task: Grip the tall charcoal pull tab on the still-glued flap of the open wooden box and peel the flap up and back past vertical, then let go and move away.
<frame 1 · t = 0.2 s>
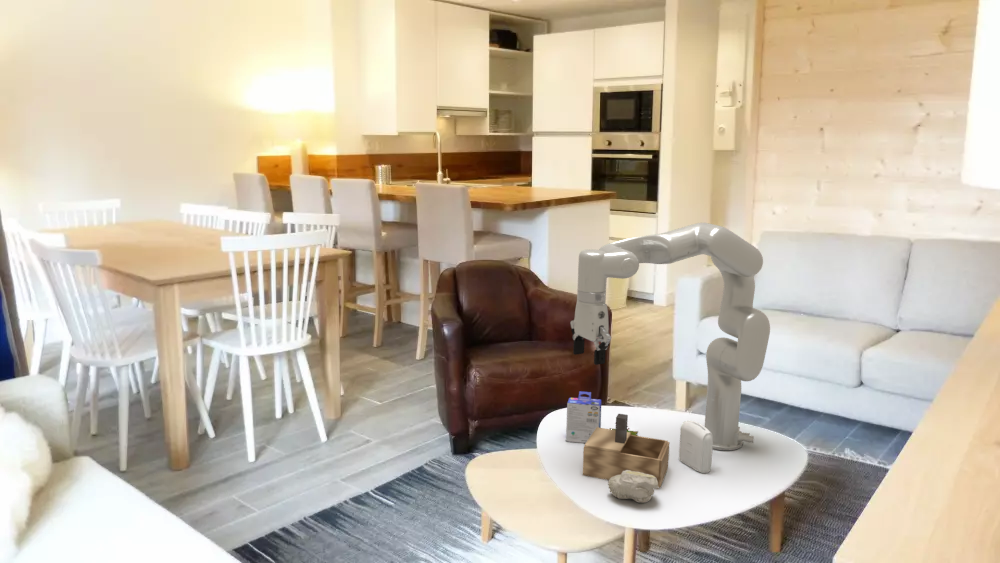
hand: (588, 358, 202), 30 cm above the table, tool pointing down, fingers open, 9 cm apart
lily flower: (621, 438, 227), on the table
flap: (608, 427, 203), point 12 cm above the table, hinge at 0.0°
open wooden box: (624, 471, 204), on the table
fossil replica: (632, 499, 189), on the table
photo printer: (694, 466, 208), on the table
ink cartridge box: (583, 440, 224), on the table
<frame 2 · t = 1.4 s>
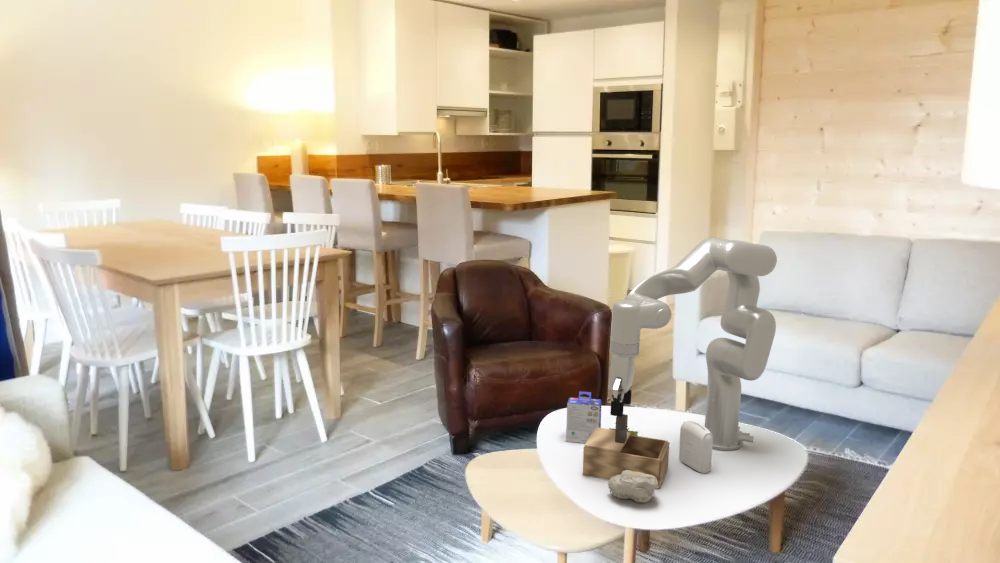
hand: (620, 409, 200), 18 cm above the table, tool pointing down, fingers open, 9 cm apart
nothing on the table moved.
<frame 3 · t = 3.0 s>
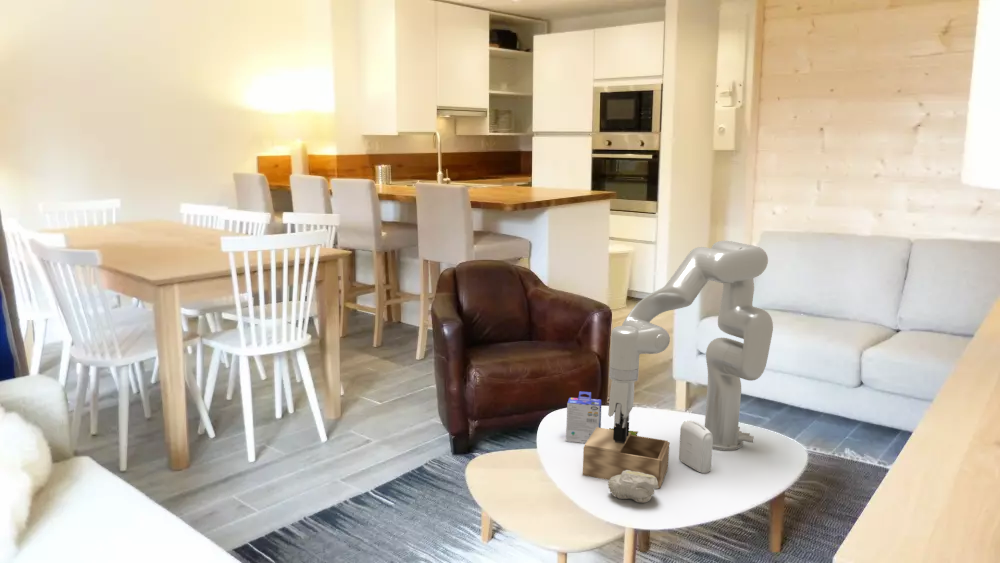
hand: (620, 437, 202), 10 cm above the table, tool pointing down, fingers closed on flap, 3 cm apart
flap: (608, 427, 203), point 12 cm above the table, hinge at 0.0°, touching gripper
everything else where it was.
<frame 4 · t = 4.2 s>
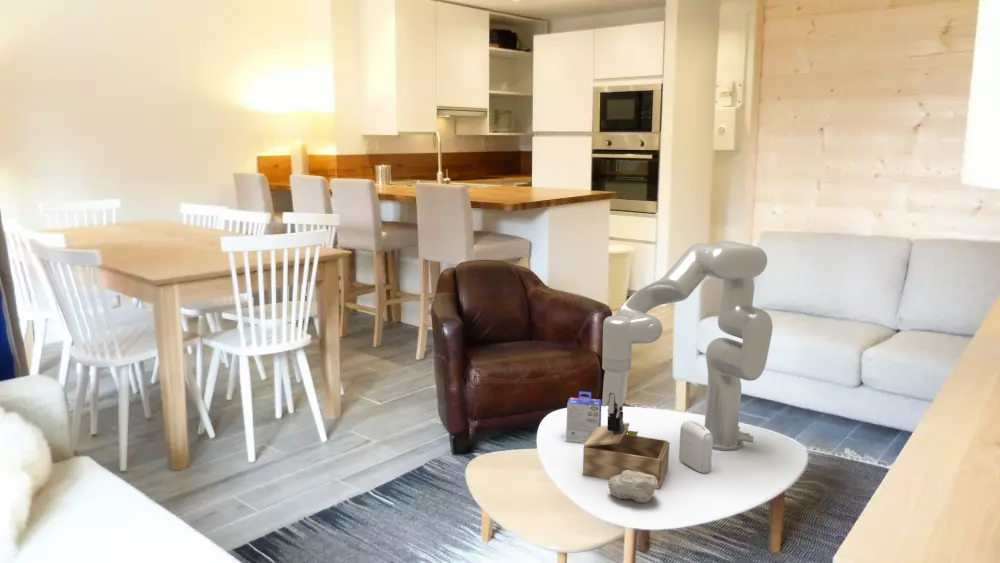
hand: (615, 427, 202), 12 cm above the table, tool pointing down, fingers closed on flap, 3 cm apart
flap: (604, 422, 203), point 13 cm above the table, hinge at 16.3°, touching gripper
everything else where it was.
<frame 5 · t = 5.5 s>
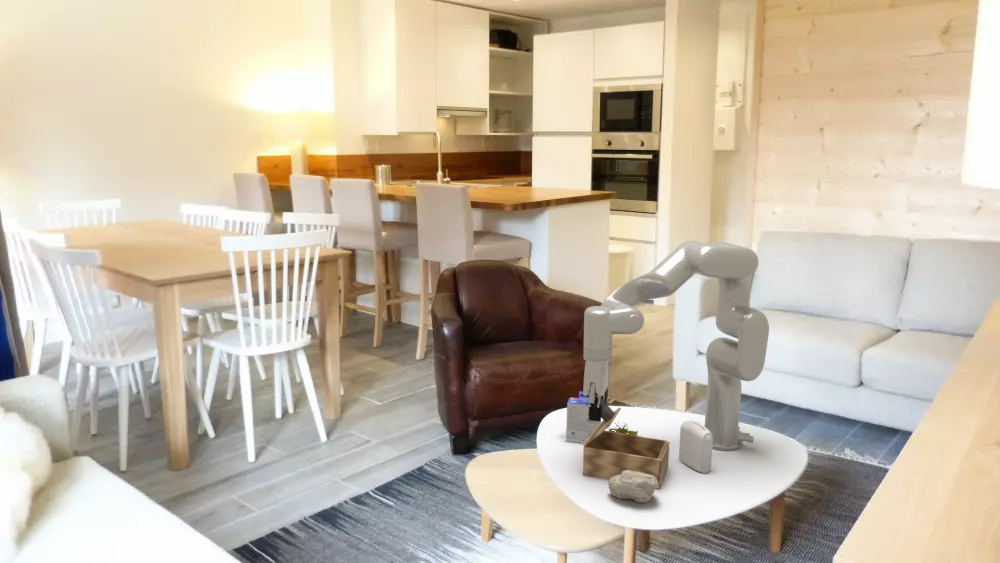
hand: (596, 417, 204), 14 cm above the table, tool pointing down, fingers closed on flap, 3 cm apart
flap: (593, 416, 204), point 14 cm above the table, hinge at 46.0°, touching gripper
everything else where it was.
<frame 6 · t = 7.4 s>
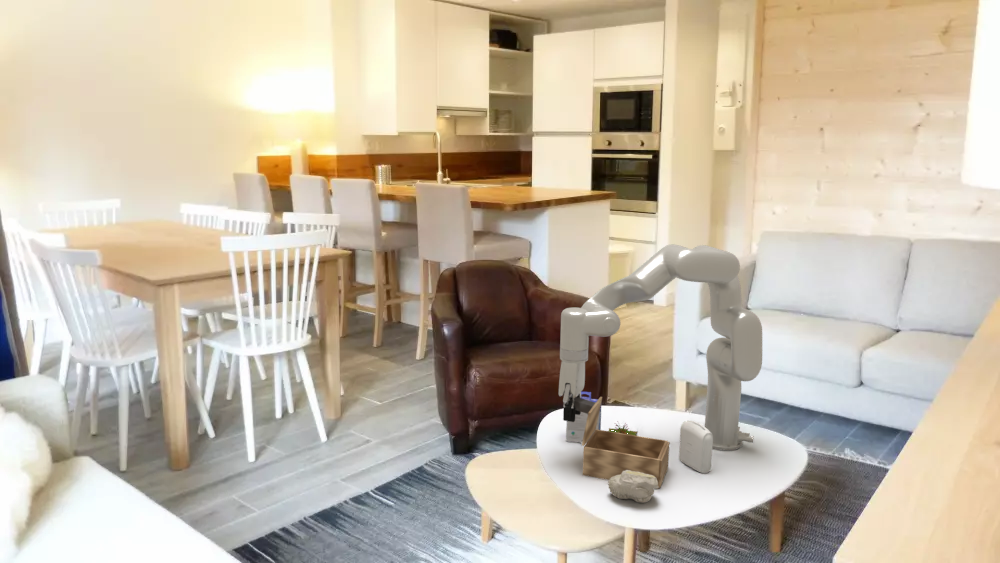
hand: (572, 416, 206), 13 cm above the table, tool pointing down, fingers open, 4 cm apart
flap: (580, 417, 205), point 14 cm above the table, hinge at 81.2°
everything else where it was.
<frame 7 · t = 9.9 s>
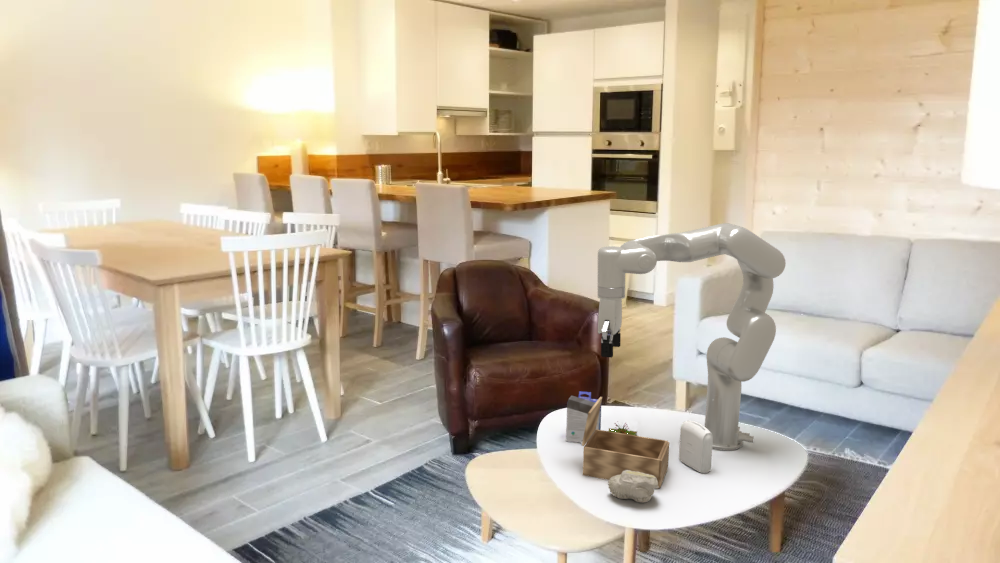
hand: (610, 351, 210), 30 cm above the table, tool pointing down, fingers open, 9 cm apart
nothing on the table moved.
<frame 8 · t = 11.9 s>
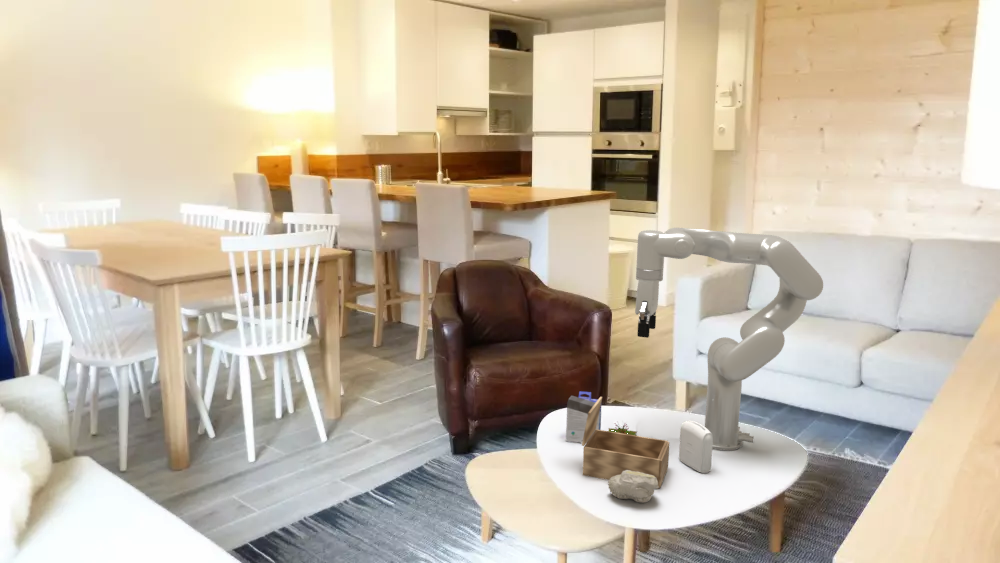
hand: (646, 332, 217), 33 cm above the table, tool pointing down, fingers open, 9 cm apart
nothing on the table moved.
at the end: flap at +81° (first picture: +0°); the gripper is holding nothing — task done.
